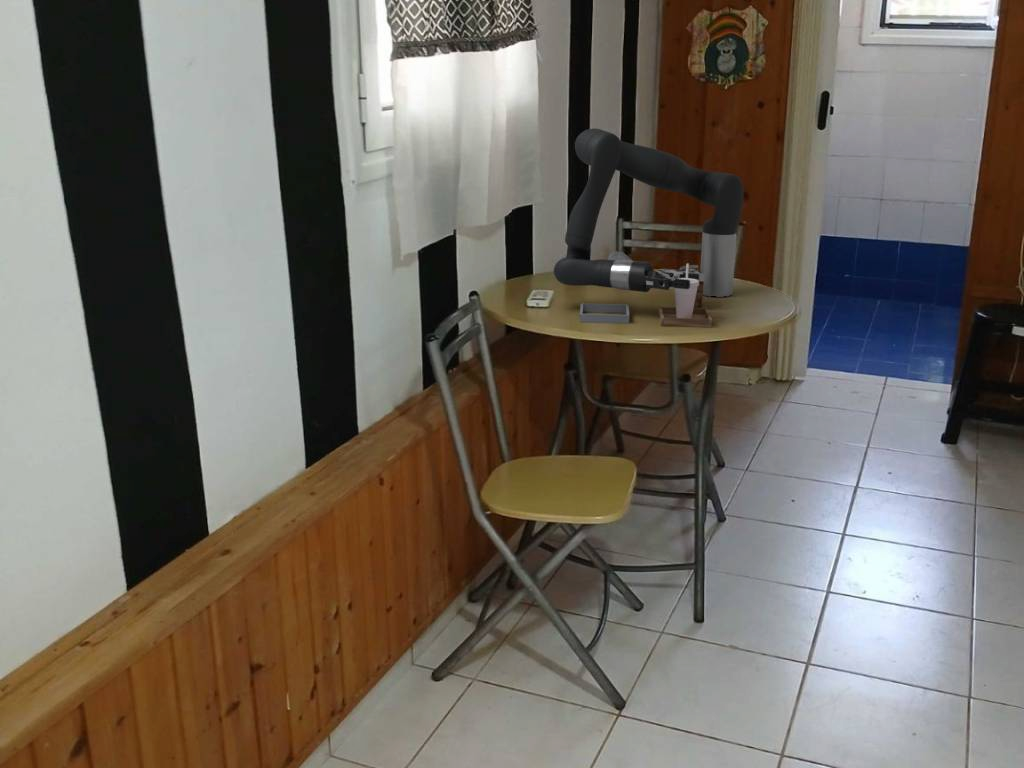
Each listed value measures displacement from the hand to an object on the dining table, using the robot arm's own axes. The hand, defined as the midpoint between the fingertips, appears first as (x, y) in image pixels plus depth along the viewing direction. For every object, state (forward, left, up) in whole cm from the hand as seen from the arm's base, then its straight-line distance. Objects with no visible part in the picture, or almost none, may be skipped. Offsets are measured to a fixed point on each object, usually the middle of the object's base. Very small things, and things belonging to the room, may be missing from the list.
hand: (694, 281), depth 257 cm
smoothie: (-1, -2, -10) cm, 10 cm away
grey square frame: (-3, -22, -10) cm, 24 cm away
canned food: (-49, -17, -11) cm, 53 cm away
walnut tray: (-1, -2, -10) cm, 10 cm away
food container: (-18, 0, -10) cm, 21 cm away
